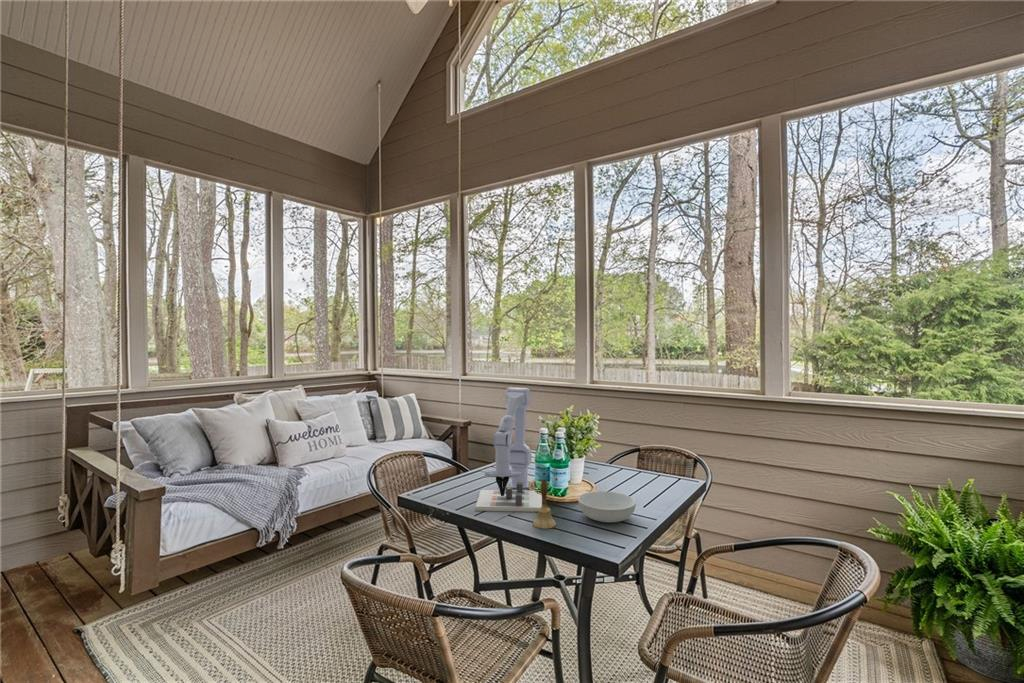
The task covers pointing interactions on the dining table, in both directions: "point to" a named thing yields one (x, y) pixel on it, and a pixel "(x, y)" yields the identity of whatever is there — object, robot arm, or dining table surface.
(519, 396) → the robot arm
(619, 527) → the dining table surface
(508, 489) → the breaker
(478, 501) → the panel
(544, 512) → the hand bell
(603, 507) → the serving bowl
